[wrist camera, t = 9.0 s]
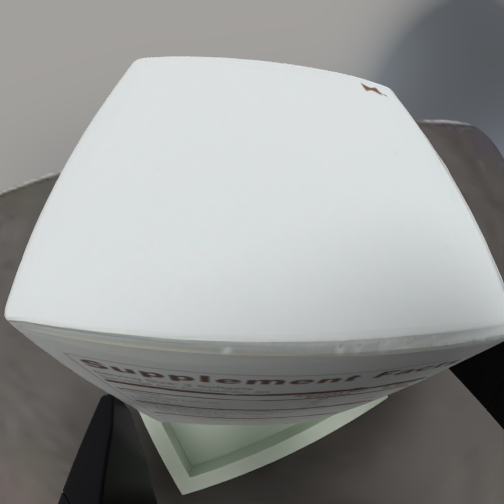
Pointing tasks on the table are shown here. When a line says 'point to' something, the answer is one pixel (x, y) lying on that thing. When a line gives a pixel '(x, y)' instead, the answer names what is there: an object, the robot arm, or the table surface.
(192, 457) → the dock tray
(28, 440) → the table surface
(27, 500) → the table surface
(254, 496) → the table surface
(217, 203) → the supplement box
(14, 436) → the table surface
